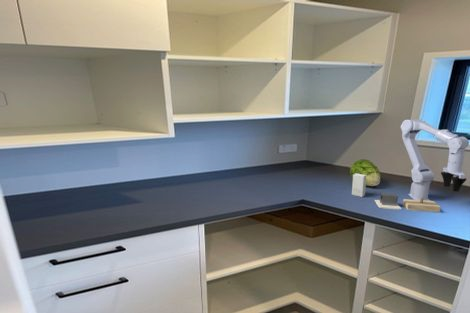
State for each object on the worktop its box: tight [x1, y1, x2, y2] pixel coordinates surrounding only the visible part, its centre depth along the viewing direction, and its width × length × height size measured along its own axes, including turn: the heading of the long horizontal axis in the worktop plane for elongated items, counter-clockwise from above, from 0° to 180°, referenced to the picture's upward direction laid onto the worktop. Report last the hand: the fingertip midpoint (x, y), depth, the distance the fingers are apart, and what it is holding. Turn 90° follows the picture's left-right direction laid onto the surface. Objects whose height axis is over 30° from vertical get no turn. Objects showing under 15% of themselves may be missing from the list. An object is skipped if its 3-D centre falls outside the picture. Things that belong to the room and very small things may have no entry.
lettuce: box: [349, 158, 381, 187], centre depth 179 cm, size 16×21×15 cm
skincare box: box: [351, 173, 367, 198], centre depth 160 cm, size 6×4×12 cm
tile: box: [374, 199, 402, 210], centre depth 147 cm, size 10×10×1 cm
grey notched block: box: [379, 192, 399, 206], centre depth 147 cm, size 4×7×5 cm, turn 78°
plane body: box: [402, 198, 441, 213], centre depth 143 cm, size 7×14×6 cm, turn 78°
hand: (451, 188), depth 141 cm, fingers open, 7 cm apart
